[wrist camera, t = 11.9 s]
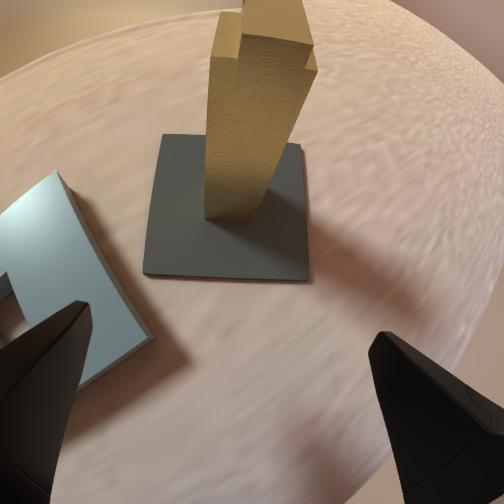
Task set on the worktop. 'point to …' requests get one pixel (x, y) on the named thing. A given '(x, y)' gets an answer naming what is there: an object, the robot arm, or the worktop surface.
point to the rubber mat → (220, 231)
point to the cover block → (66, 274)
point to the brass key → (253, 102)
